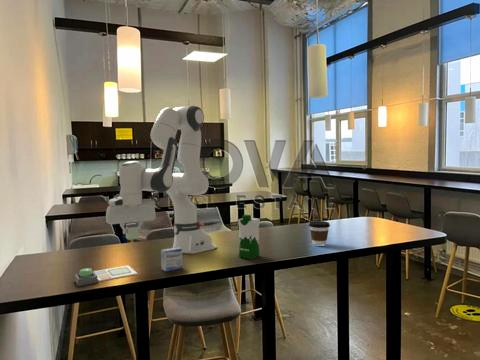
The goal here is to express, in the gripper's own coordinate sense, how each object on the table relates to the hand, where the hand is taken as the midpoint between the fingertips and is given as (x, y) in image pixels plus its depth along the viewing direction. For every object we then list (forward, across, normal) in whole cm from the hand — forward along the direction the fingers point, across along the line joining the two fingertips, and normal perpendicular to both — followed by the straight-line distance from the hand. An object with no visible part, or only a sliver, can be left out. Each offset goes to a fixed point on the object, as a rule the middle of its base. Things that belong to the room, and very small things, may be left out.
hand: (131, 232), depth 156 cm
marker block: (+2, 0, 0) cm, 2 cm away
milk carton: (+15, -51, +12) cm, 55 cm away
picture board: (+16, +8, 0) cm, 18 cm away
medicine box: (+16, -14, +8) cm, 23 cm away
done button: (+15, +19, +4) cm, 24 cm away
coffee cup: (+15, -93, +16) cm, 96 cm away
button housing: (+16, +19, +4) cm, 25 cm away
